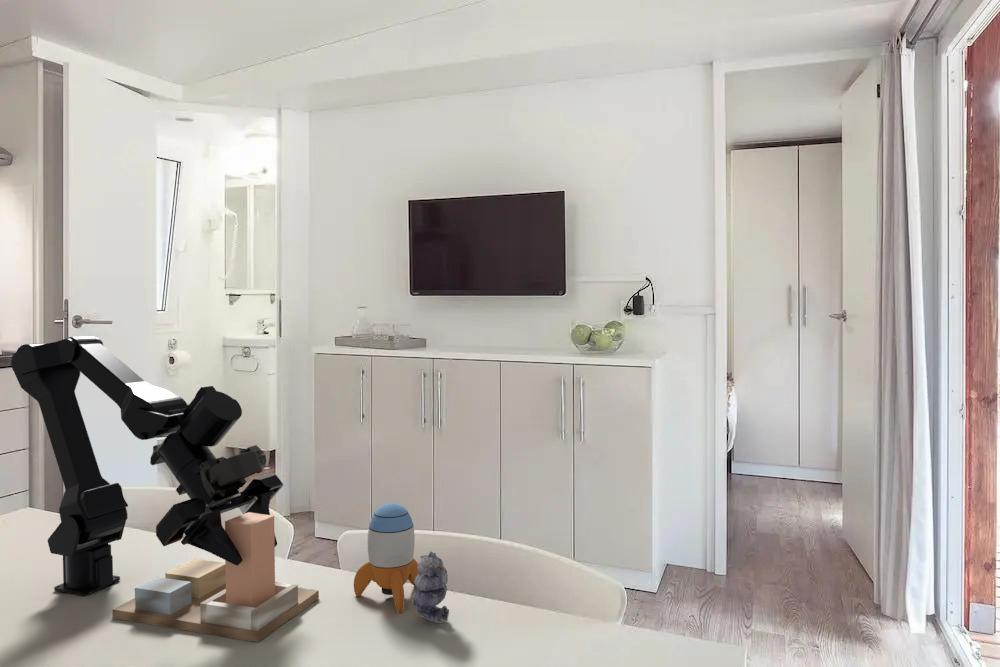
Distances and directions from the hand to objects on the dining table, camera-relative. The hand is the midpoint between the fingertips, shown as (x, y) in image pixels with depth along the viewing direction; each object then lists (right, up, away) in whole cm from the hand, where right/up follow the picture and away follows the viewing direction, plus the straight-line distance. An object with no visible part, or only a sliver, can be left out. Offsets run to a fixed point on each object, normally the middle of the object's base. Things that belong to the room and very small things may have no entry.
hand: (257, 554), depth 93 cm
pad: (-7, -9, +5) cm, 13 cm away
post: (-1, -8, +1) cm, 8 cm away
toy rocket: (+16, -9, +9) cm, 20 cm away
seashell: (+24, -10, 0) cm, 25 cm away
